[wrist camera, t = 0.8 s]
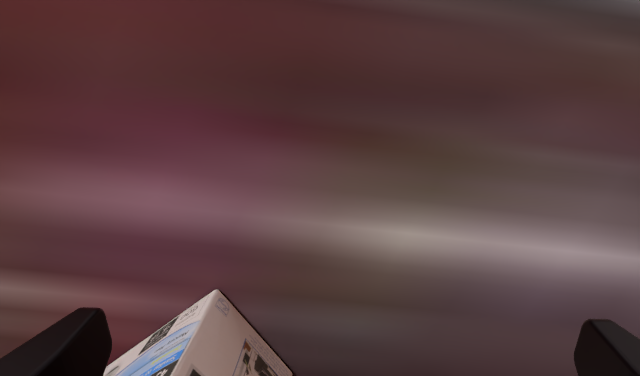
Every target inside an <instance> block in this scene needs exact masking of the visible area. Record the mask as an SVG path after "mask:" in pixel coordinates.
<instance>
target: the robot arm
mask: <svg viewBox="0 0 640 376" xmlns="http://www.w3.org/2000/svg"><path fill="white" fill-rule="evenodd" d="M111 349H112V339H111V335H110V331H109V327H108V323H107V320H106V316H105V313H104V311H103V310H102V309H100V308H85V307H83V308H79V309H77V310H75V311H74V312H72V313H70V314H69V315H67V316H66V317H64V318H63V319H61V320H60V321H58V322H56V323H55V324H53V325H52V326H50V327H49V328H47V329H46V330H44V331H42V332H41V333H39V334H38V335H36V336H35V337H33V338H32V339H30V340H29V341H27V342H25V343H24V344H22V345H21V346H19V347H18V348H16V349H15V350H13V351H11V352H10V353H8V354H7V355H5V356H4V357H2V358H1V359H0V376H103V375H104V372H105V369H106V366H107V363H108V360H109V357H110V354H111ZM574 362H575V366H576V369H577V373H578V376H640V339H638V338H637V337H636V336H634V335H633V334H631V333H630V332H628V331H627V330H625V329H624V328H622V327H621V326H619V325H618V324H616V323H615V322H613V321H611V320H608V319H588V320H586V321H585V322H584V323H583V325H582V328H581V331H580V334H579V338H578V341H577V344H576V348H575V351H574Z"/></svg>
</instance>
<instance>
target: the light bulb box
mask: <svg viewBox="0 0 640 376" xmlns="http://www.w3.org/2000/svg"><path fill="white" fill-rule="evenodd" d="M103 376H292V372H291V371H290V370H289V369H288V367H287V366H286V365H285V364H284V363H283V362H282V361H281V359H280V358H279V357H278V356H277V355H276V354H275V353H274V352H273V351H272V349H271V348H270V347H269V346H268V345H267V344H266V343H265V342H264V340H263V339H262V338H261V337H260V336H259V335H258V334H257V333H256V331H255V330H254V329H253V328H252V327H251V326H250V325H249V324H248V322H247V321H246V320H245V319H244V318H243V317H242V316H241V315H240V313H239V312H238V311H237V310H236V309H235V308H234V307H233V305H232V304H231V303H230V302H229V301H228V300H227V299H226V298H225V297H224V295H223V294H222V293H221V292H220V291H219V290H214V291H212V292H211V293H210V294H208V295H207V296H205V297H204V298H202V299H201V300H199V301H198V302H197V303H195V304H194V305H192V306H191V307H190V308H188V309H187V310H185V311H184V312H183V313H181V314H180V315H178V316H177V317H176V318H174V319H173V320H171V321H170V322H169V323H167V324H166V325H165V326H163V327H162V328H160V329H159V330H158V331H156V332H155V333H153V334H152V335H151V336H149V337H148V338H146V339H145V340H143V341H142V342H140V343H139V344H138V345H136V346H135V347H134V348H132V349H131V350H129V351H128V352H127V353H125V354H124V355H122V356H121V357H119V358H118V359H117V360H115V361H114V362H112V363H111V364H110V365H108V366H107V367H106V369H105V372H104V375H103Z"/></svg>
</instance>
